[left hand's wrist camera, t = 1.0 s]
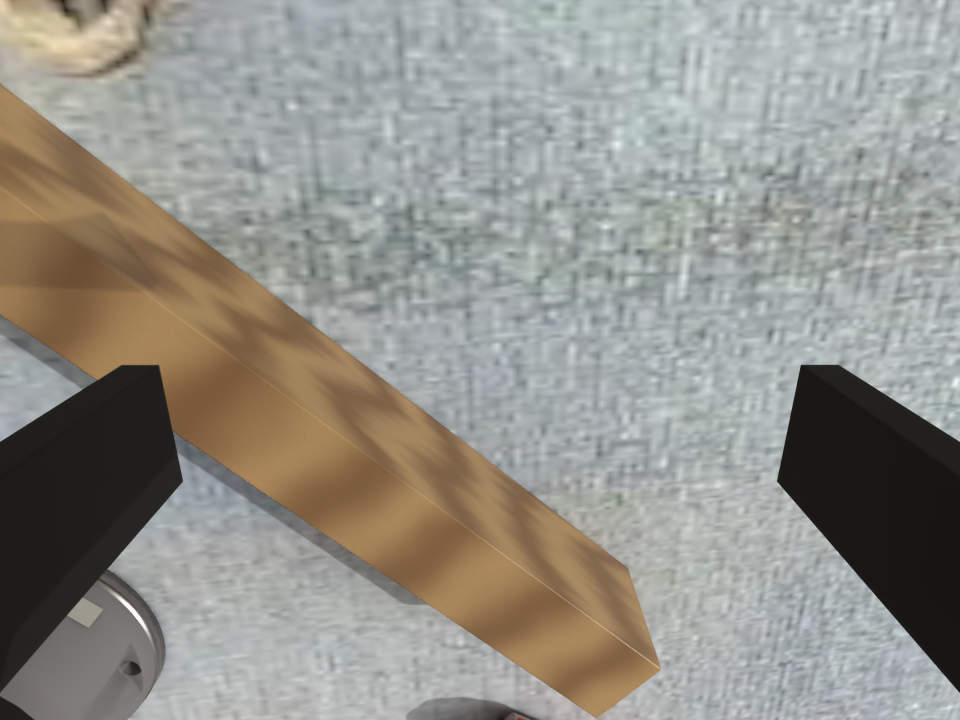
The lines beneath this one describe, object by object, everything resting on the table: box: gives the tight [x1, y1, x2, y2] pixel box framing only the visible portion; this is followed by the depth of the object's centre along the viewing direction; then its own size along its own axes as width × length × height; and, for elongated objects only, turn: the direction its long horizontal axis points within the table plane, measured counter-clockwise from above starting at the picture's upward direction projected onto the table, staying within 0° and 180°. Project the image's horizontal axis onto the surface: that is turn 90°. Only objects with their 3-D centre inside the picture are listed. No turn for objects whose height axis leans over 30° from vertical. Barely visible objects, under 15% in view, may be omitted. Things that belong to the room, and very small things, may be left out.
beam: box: [0, 84, 661, 718], centre depth 28 cm, size 79×5×8 cm, turn 49°
